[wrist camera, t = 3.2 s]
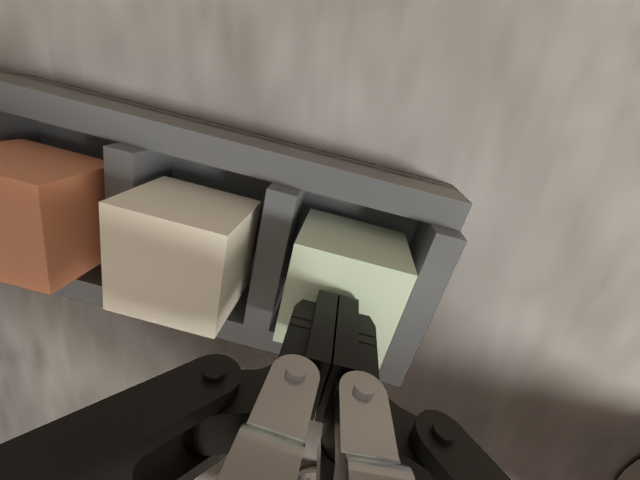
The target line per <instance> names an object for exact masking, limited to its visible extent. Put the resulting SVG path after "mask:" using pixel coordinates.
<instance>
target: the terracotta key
mask: <svg viewBox="0 0 640 480" xmlns="http://www.w3.org/2000/svg"><path fill="white" fill-rule="evenodd" d="M102 200H105V185H104V160H102V159H99V158H95V157H91V156H87V155H83V154H80V153H76V152H72V151H68V150H64V149H61V148H57V147H53V146H49V145H45V144H42V143H38V142H34V141H30V140H26V139H23V138H22V139H14V140H6V141H0V282H3V283H7V284H11V285H15V286H18V287H22V288H26V289H29V290H33V291H37V292H41V293H44V294H48V295H52V294H53V293H55V292H56V291H58V290H60V289H61V288H63V287H64V286H66V285H67V284H69V283H71V282H72V281H74V280H75V279H77V278H78V277H80V276H82V275H83V274H85V273H86V272H88V271H90V270H91V269H93V268H94V267H96V266H97V265H99V264H101V246H100V223H99V201H102Z"/></svg>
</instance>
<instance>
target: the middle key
mask: <svg viewBox="0 0 640 480" xmlns="http://www.w3.org/2000/svg"><path fill="white" fill-rule="evenodd" d="M261 202H262V201H259V200H255V199H251V198H247V197H243V196H239V195H236V194H232V193H228V192H224V191H220V190H217V189H213V188H209V187H205V186H201V185H198V184H194V183H190V182H186V181H182V180H179V179H175V178H171V177H167V176H163V177H160V178H158V179H155V180H153V181H150V182H147V183H145V184H142V185H140V186H137V187H135V188H132V189H130V190H127V191H125V192H122V193H120V194H117V195H115V196H112V197H110V198H107V199H105V200H102V201H99V223H100V246H101V270H102V293H103V309H104V310H107V311H111V312H115V313H119V314H122V315H126V316H130V317H133V318H137V319H141V320H145V321H148V322H152V323H156V324H159V325H163V326H167V327H171V328H174V329H178V330H182V331H185V332H189V333H193V334H197V335H200V336H204V337H208V338H211V339H215V337H216V336H217V334H218V332H219V331H220V329H221V328H222V326H223V324H224V323H225V321H226V319H227V318H228V316H229V314H230V313H231V311H232V310H233V308H234V306H235V305H236V303H237V301H238V300H239V298H240V297H241V295H242V293H243V292H244V290H245V288H246V287H247V285H248V279H249V273H250V267H251V261H252V255H253V249H254V243H255V237H256V231H257V225H258V219H259V213H260V207H261Z"/></svg>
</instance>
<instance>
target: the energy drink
mask: <svg viewBox="0 0 640 480" xmlns="http://www.w3.org/2000/svg"><path fill="white" fill-rule="evenodd" d="M316 472H317V466H311V467H306V468H304V469H301V470H300V471H299V473H298V477H297V480H316Z"/></svg>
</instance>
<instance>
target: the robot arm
mask: <svg viewBox="0 0 640 480" xmlns="http://www.w3.org/2000/svg"><path fill="white" fill-rule="evenodd" d="M376 337H377V336H376V326H375V324H374V323H373V321H372V319H371V318H370V316H367V315H363V314H359V300H358V299H355V298H351V297H347V296H343V295H339V297H338V294H335V293H331V292H327V291H323V290H319V292H318V296H317V300H316V302H312V301H308V300H304V299H302V300H301V301H300V302H298V303H297V304H296V305H295V306H294V309H293V312H292V315H291V318H290V321H289V325H288V328H287V331H286V334H285V337H284V341H283V344H282V347H281V350H280V353H279V356H278V358H277V359H276V360H275V361H274V363H272V364H271V365H270V366H268V367H265V368H262V369H258V370H241V369H240V367H239V365H238V364H237V362H236V361H235V360H233V359H232V358H230V357H228V356H225V355H220V354H211V355H206V356H203V357H200V358H198V359H196V360H193V361H191V362H189V363H186V364H184V365H182V366H179V367H177V368H175V369H172V370H170V371H168V372H166V373H163V374H161V375H159V376H156V377H154V378H152V379H149V380H147V381H145V382H142V383H140V384H138V385H136V386H133V387H131V388H129V389H126V390H124V391H122V392H119V393H117V394H115V395H113V396H110V397H108V398H106V399H103V400H101V401H99V402H96V403H94V404H92V405H89V406H87V407H85V408H83V409H80V410H78V411H76V412H73V413H71V414H69V415H66V416H64V417H62V418H59V419H57V420H55V421H53V422H50V423H48V424H46V425H43V426H41V427H39V428H36V429H34V430H32V431H29V432H27V433H25V434H23V435H20V436H18V437H16V438H13V439H11V440H9V441H6V442H4V443H2V444H0V480H193V479H195V478H196V477H198V476H199V475H200V474H202V473H203V472H205V471H206V470H208V469H209V468H210V467H212V466H213V465H215V464H216V463H218V462H219V461H220V460H221V459H222V458H223V457H224V456H225V454H228V456H227V458H226V460H225V462H224V464H223V467H222V469H221V471H220V473H219V476H218V478H217V480H297V477H298V473H299V469H300V465H301V461H302V456H303V452H304V447H305V439H306V434H307V430H308V426H309V422H310V420H313V418H314V415H315V412H316V418H315V421H319V422H323V429H322V435H321V438H320V441H319V444H318V449H317V472H316V480H511V479H510V478H509V477H508V476H507V475H506V474H505V473H504V472H503V471H502V470H501V469H500V467H499V466H498V465H497V464H496V463H495V462H494V461H493V460H492V459H491V458H490V457H489V456H488V455H487V454H486V453H485V452H484V451H483V450H482V448H481V447H480V446H479V445H478V444H477V443H476V442H475V441H474V440H473V439H472V438H471V437H470V436H469V435H468V434H467V433H466V432H465V431H464V429H463V428H462V427H461V426H460V425H459V424H458V423H457V422H456V421H455V420H453V419H452V418H451V417H449V416H448V415H446V414H444V413H442V412H439V411H435V410H425V411H423V412H421V413H420V414H419V415H418V416H415V415H413V414H411V413H409V412H408V411H406V410H404V409H402V408H400V407H399V406H397V405H396V404H395V403H393V402H392V401H391V400H390V399H389V398H388V394H387V391H386V389H385V387H384V385H383V384H382V383H381V382H380V378H379V364H378V350H377V339H376ZM316 409H317V410H316ZM617 480H640V459H639V460H637V461H635V462H634V463H633V464H632V465H630V466H629V467H628V468H627V469H626V470H624V471H623V473H622V474H621V475H620V477H619V478H618V479H617Z"/></svg>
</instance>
